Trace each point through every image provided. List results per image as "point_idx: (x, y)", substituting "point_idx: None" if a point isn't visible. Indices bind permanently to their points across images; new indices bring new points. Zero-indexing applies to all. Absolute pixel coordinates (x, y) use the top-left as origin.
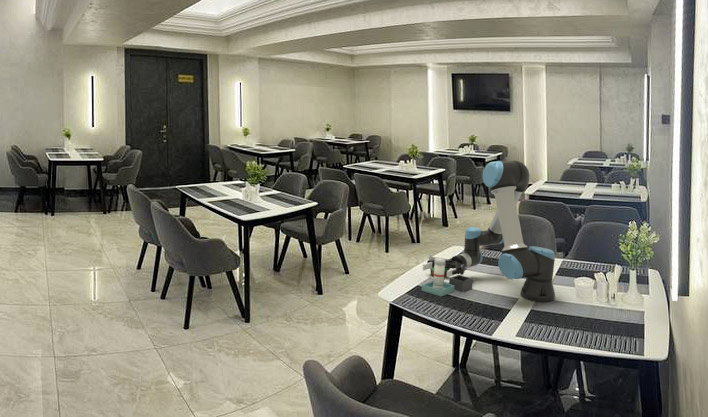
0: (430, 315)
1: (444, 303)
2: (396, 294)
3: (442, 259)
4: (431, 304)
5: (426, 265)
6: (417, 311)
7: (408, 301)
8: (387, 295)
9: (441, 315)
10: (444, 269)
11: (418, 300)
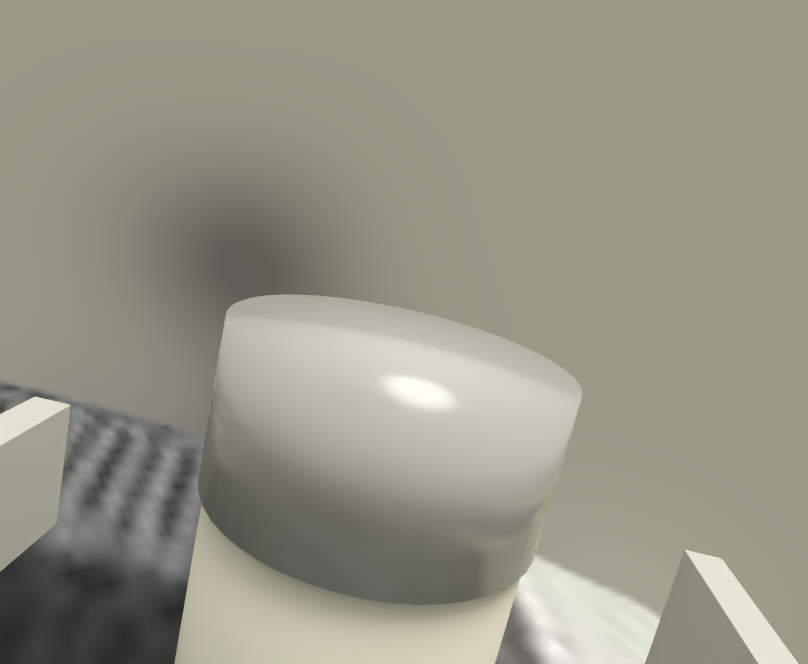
0: (120, 421)
1: (20, 601)
2: (573, 628)
3: (313, 321)
4: (164, 545)
5: (710, 637)
6: None
7: None
8: (595, 585)
9: None
10: (180, 633)
11: None
